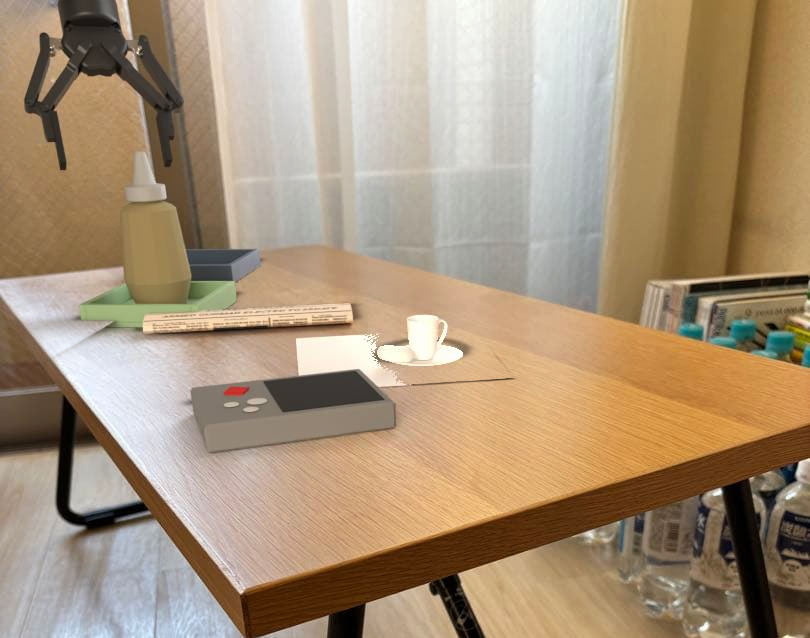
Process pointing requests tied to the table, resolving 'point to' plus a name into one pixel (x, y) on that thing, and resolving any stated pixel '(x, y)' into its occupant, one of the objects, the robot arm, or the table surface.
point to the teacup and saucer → (357, 352)
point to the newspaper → (247, 318)
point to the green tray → (129, 314)
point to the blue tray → (222, 263)
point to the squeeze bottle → (152, 241)
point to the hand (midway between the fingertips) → (117, 165)
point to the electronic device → (290, 409)
